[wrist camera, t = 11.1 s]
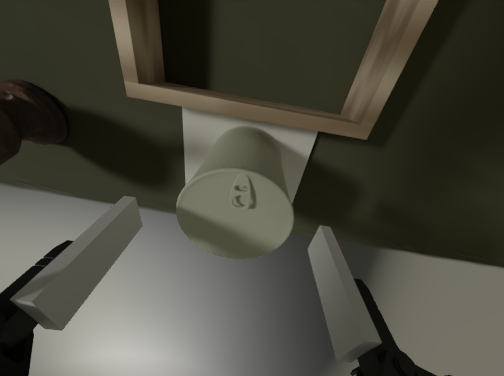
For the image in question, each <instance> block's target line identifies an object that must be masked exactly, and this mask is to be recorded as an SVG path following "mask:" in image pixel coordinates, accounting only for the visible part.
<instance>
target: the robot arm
mask: <svg viewBox="0 0 504 376" xmlns="http://www.w3.org/2000/svg"><path fill="white" fill-rule="evenodd" d="M141 227H142V222H141V218H140V214H139V210H138V206H137V202H136V198H135V197H128V196H123V197H122V198H121V199H120V200H119V201H118V202H117V203H116V204H115V205H114V206H112V207H111V208H110V209H109V210H108V211H107V212H106V213H105V214H104V215H103V216H101V217H100V218H99V219H98V220H97V221H96V222H95V223H94V224H93V225H92V226H90V227H89V228H88V229H87V230H86V231H85V232H84V233H83V234H82V235H80V236H79V237H78V238H77V239H76V240H75V241H68V240H67V241H65V242H64V243H62V244H60V245H58V246H56V247H55V248H53V249H52V250H51V251H50V252H49V253H48V254H46V255H45V256H44V258H43V259H41V260H39V261H38V262H37V263H36V264H35V266H32V267H31V268H30V269H29V270H28V271H26V272H25V273H24V274H23V275H22V276H20V277H19V278H18V279H17V280H16V281H15V282H13V283H12V284H11V285H10V286H9V287H7V288H6V289H5V290H4V291H3V292H2V293H0V376H28V375H29V368H30V360H31V352H32V345H33V338H34V334H33V329H34V328H35V327H36V325H37V324H38V323H39V324H40V325H41V326H42V327H43V328H45V329H53V330H63V329H64V327H65V326H66V325H67V323H68V322H69V321H70V320H71V318H72V317H73V316H74V314H75V313H76V312H77V311H78V309H79V308H80V307H81V305H82V304H83V303H84V301H85V300H86V299H87V298H88V296H89V295H90V294H91V292H92V291H93V290H94V288H95V287H96V286H97V284H98V283H99V282H100V281H101V279H102V278H103V277H104V275H105V274H106V273H107V272H108V270H109V269H110V268H111V266H112V265H113V264H114V262H115V261H116V260H117V258H118V257H119V256H120V255H121V253H122V252H123V251H124V249H125V248H126V247H127V246H128V244H129V243H130V242H131V240H132V239H133V238H134V236H135V235H136V234H137V233H138V231H139V230H140V229H141ZM308 253H309V257H310V261H311V265H312V268H313V272H314V276H315V280H316V284H317V287H318V291H319V294H320V299H321V302H322V306H323V310H324V314H325V318H326V321H327V325H328V329H329V333H330V337H331V341H332V344H333V348H334V352H335V356H336V359H337V361H345V362H352V361H354V360H356V359H358V362H359V365H360V366H359V367H357V368H355V369H354V370H352V372H351V375H352V376H353V375H355V374H356V376H436V375H434V374H432V373H430V372H428V371H426V370H424V369H422V368H420V367H418V366H417V365H415V364H414V362H413V361H412V360H411V359H410V358H409V357H408V356H407V355H406V354H405V353H404V352H402V351H400V349H399V348H398V346H397V345H396V343H395V341H394V339H393V337H392V335H391V333H390V331H389V329H388V327H387V325H386V323H385V321H384V319H383V317H382V315H381V313H380V311H379V310H378V307H377V305H376V303H375V301H374V300H373V297H372V295H371V293H370V291H369V289H368V288H367V286H366V285H365V284H364V283H363V281H362V280H360V279H353V277H352V275H351V272H350V270H349V268H348V266H347V263H346V261H345V259H344V257H343V255H342V252H341V250H340V248H339V245H338V243H337V241H336V239H335V237H334V234H333V232H332V230H331V228H330V227H328V226H321V225H320V226H319V228H318V230H317V232H316V234H315V236H314V238H313V240H312V242H311V244H310V246H309V248H308ZM446 376H451V375H446Z"/></svg>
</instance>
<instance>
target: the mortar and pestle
mask: <svg viewBox="0 0 504 376" xmlns="http://www.w3.org/2000/svg"><path fill="white" fill-rule="evenodd" d="M67 135H68V129H67V122H66V119H65V117H64V115H63V113H62V112H61V110H60V109H59V108H58V106H57V105H56V104H55V103H54V102H53V101H52V99H51V98H50V97H48V96H47V95H46V94H45V93H44V92H43V91H42V90H41V89H39V88H38V87H36V86H35V85H32V84H30V83H28V82H26V81H23V80H7V81H2V82H0V165H1V164H2V163H4V162H6V161H7V160H9V159H10V158H12V157H13V156H15V155H16V154H17V153H18V152H19V149H20V146H21V142H22V140H25V141H27V142H29V143H33V144H43V145H46V144H56V143H61V142H63V141H64V140H65V139H66V137H67Z"/></svg>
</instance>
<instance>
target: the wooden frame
mask: <svg viewBox="0 0 504 376" xmlns="http://www.w3.org/2000/svg"><path fill="white" fill-rule="evenodd" d="M437 2H438V0H386V3H385V5H384V8H383V10H382V13H381V15H380V17H379V20H378V22H377V25H376V27H375V30H374V32H373V35H372V37H371V40H370V42H369V45H368V47H367V50H366V52H365V55H364V57H363V60H362V62H361V65H360V67H359V69H358V72H357V74H356V77H355V79H354V82H353V84H352V87H351V89H350V92H349V94H348V97H347V99H346V102H345V104H344V107H343V109H342V112H341V114H334V113H329V112H324V111H318V110H313V109H307V108H302V107H297V106H291V105H286V104H281V103H275V102H270V101H265V100H259V99H254V98H248V97H243V96H238V95H232V94H227V93H222V92H216V91H211V90H205V89H200V88H195V87H189V86H184V85H179V84H173V83H168V82H165V75H164V63H163V52H162V41H161V29H160V18H159V6H158V0H109V5H110V10H111V15H112V20H113V26H114V31H115V36H116V41H117V46H118V51H119V57H120V62H121V67H122V72H123V77H124V82H125V88H126V93H127V97H133V98H138V99H144V100H149V101H155V102H160V103H166V104H171V105H177V106H182V107H188V108H194V109H199V110H205V111H210V112H216V113H221V114H227V115H232V116H238V117H243V118H249V119H254V120H260V121H265V122H271V123H276V124H282V125H287V126H293V127H298V128H304V129H309V130H315V131H321V132H326V133H332V134H337V135H343V136H348V137H354V138H359V139H365V140H367V138H368V136H369V134H370V132H371V130H372V128H373V126H374V124H375V122H376V120H377V118H378V116H379V115H380V113H381V111H382V109H383V107H384V105H385V103H386V101H387V99H388V97H389V95H390V93H391V91H392V89H393V87H394V85H395V83H396V82H397V80H398V78H399V76H400V74H401V72H402V70H403V68H404V66H405V64H406V62H407V60H408V58H409V56H410V54H411V52H412V51H413V49H414V47H415V45H416V43H417V41H418V39H419V37H420V35H421V33H422V31H423V29H424V27H425V25H426V23H427V21H428V20H429V18H430V16H431V14H432V12H433V10H434V8H435V6H436V4H437Z"/></svg>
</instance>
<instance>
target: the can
mask: <svg viewBox="0 0 504 376" xmlns="http://www.w3.org/2000/svg"><path fill="white" fill-rule="evenodd" d="M176 213H177V218H178V222H179V224H180V226H181V228H182V230H183V231H184V233H185V234H186V235H187V236H188V238H189V239H190V240H191V241H193V242H194V243H195V244H196V245H198V246H199V247H201V248H202V249H204V250H206V251H208V252H210V253H213V254H215V255H219V256H222V257H227V258H235V259H246V258H254V257H258V256H262V255H265V254H267V253H269V252H271V251H273V250H275V249H276V248H278V247H279V246H280V245H282V244H283V242H284V241H286V239H287V238H288V236H289V235H290V233H291V231H292V228H293V224H294V211H293V206H292V204H291V201H290V198H289V195H288V191H287V186H286V182H285V178H284V173H283V169H282V164H281V153H280V149H279V147H278V145H277V143H276V142H275V140H274V139H273V138H272V137H271V136H270V135H269V134H268V133H266V132H265V131H263V130H261V129H258V128H255V127H251V126H239V127H235V128H232V129H229V130H227V131H226V132H224V133H223V134H222V135H221V136H220V137H219V138H218V139H217V140H216V142H215V143H214V146H213V148H212V150H211V152H210V153H209V155H208V156H207V158H206V159H205V161H204V162H203V164H202V165H201V166H200V168H199V169H198V171H197V172H196V173H195V175H194V176H193V178H192V179H191V180H190V181H189V182H188V183H187V184H186V185H185V187H184V188H183V189H182V191H181V193H180V195H179V197H178V200H177V205H176Z"/></svg>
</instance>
